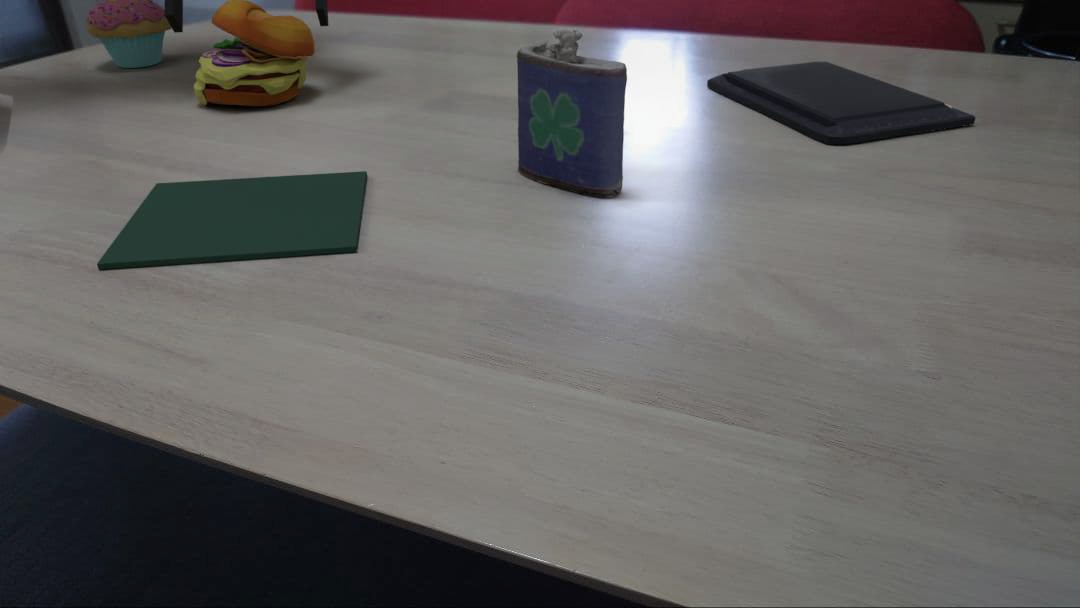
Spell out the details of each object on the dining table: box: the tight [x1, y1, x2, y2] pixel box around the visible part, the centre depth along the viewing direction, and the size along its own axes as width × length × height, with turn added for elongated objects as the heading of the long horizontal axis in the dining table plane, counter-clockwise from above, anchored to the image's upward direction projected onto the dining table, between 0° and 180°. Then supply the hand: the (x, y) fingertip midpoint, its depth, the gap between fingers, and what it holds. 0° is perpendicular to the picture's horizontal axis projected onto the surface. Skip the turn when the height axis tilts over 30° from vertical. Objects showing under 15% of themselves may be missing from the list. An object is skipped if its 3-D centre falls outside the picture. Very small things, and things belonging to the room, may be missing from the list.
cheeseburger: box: [193, 0, 315, 108], centre depth 78 cm, size 10×11×10 cm
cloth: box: [96, 170, 368, 270], centre depth 55 cm, size 15×13×1 cm
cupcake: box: [85, 0, 172, 69], centre depth 90 cm, size 9×8×12 cm
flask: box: [516, 29, 628, 199], centre depth 57 cm, size 9×3×11 cm, turn 47°
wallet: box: [706, 61, 976, 146], centre depth 75 cm, size 20×2×15 cm
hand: (248, 21), depth 77 cm, fingers open, 13 cm apart
